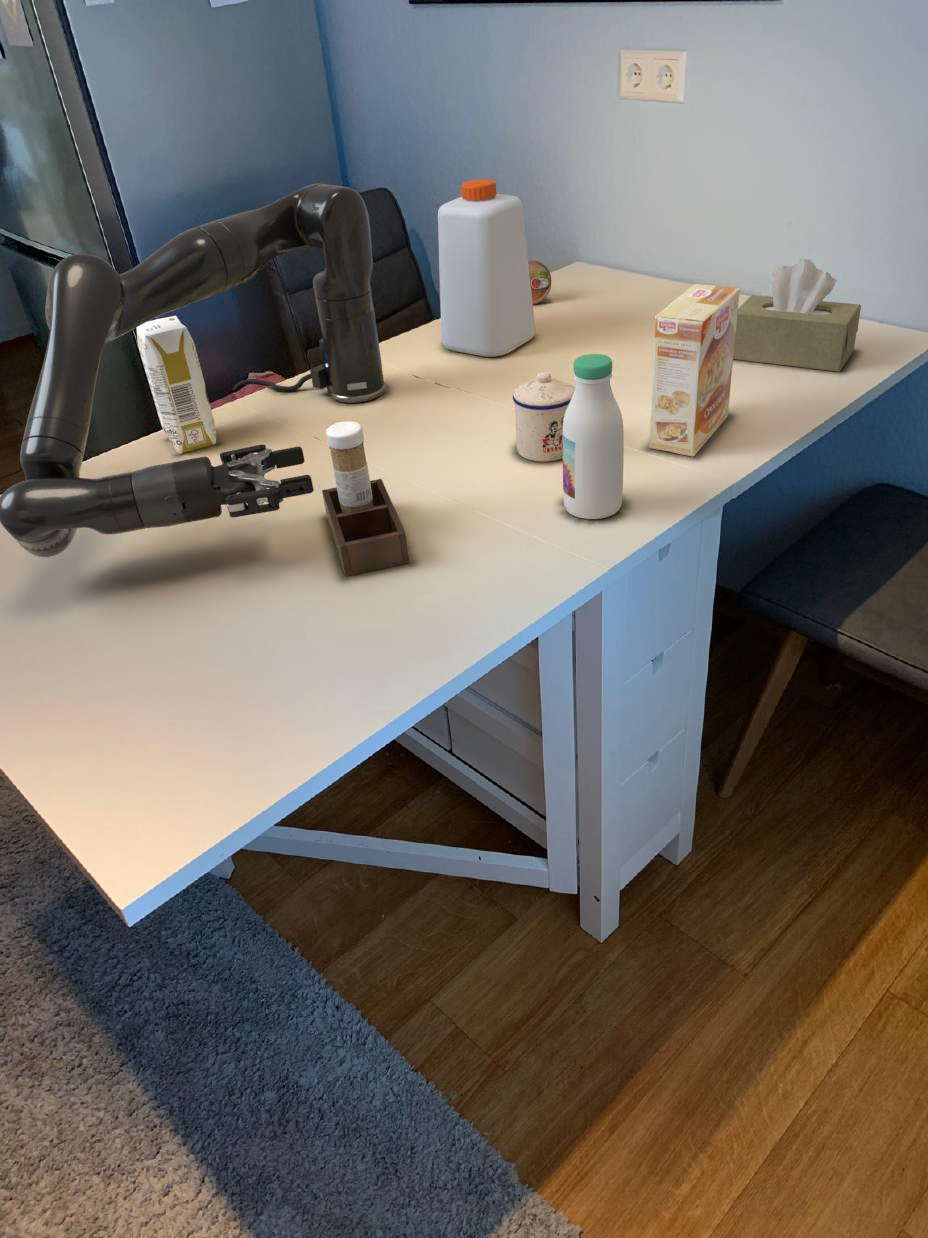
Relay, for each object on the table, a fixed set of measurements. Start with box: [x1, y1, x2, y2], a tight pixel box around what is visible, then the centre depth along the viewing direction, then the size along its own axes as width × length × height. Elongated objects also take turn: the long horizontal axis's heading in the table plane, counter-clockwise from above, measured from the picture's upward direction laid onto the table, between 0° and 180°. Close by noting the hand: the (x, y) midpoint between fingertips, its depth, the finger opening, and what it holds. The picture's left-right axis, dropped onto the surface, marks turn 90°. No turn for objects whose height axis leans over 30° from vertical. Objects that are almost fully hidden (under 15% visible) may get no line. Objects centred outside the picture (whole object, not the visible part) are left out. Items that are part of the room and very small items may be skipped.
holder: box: [321, 478, 411, 577], centre depth 120 cm, size 8×15×4 cm, turn 15°
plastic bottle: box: [437, 178, 536, 358], centre depth 168 cm, size 15×15×28 cm
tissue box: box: [733, 258, 862, 373], centre depth 154 cm, size 19×10×16 cm, turn 59°
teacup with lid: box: [512, 371, 575, 463], centre depth 135 cm, size 12×9×12 cm
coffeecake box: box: [649, 283, 741, 457], centre depth 133 cm, size 15×7×20 cm, turn 148°
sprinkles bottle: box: [325, 420, 374, 513], centre depth 119 cm, size 5×5×14 cm
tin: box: [528, 260, 552, 305], centre depth 191 cm, size 15×3×8 cm, turn 81°
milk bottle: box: [562, 353, 625, 520], centre depth 117 cm, size 8×8×20 cm
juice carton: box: [135, 315, 217, 454], centre depth 144 cm, size 8×9×19 cm
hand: (307, 468), depth 117 cm, fingers open, 8 cm apart
